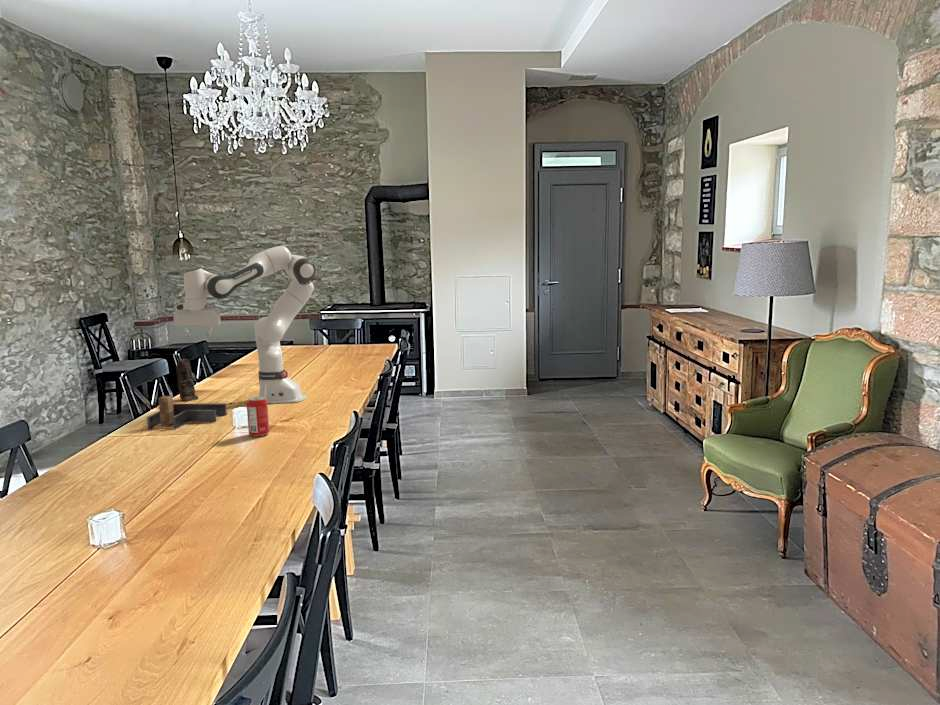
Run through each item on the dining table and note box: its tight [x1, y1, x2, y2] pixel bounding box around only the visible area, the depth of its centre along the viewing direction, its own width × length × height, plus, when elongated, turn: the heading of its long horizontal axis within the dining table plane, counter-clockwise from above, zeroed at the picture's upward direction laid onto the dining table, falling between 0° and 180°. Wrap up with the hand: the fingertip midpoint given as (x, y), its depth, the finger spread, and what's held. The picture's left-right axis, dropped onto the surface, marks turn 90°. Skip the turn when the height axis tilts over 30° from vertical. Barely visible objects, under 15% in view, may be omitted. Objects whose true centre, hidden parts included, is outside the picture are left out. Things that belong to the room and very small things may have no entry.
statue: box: [175, 358, 199, 402], centre depth 350 cm, size 7×7×20 cm
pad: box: [153, 424, 174, 429], centre depth 304 cm, size 8×8×1 cm
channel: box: [146, 403, 228, 430], centre depth 310 cm, size 24×23×5 cm
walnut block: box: [157, 395, 174, 426], centre depth 303 cm, size 4×4×12 cm
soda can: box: [246, 395, 270, 438], centre depth 287 cm, size 8×8×15 cm
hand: (198, 336), depth 323 cm, fingers open, 8 cm apart
